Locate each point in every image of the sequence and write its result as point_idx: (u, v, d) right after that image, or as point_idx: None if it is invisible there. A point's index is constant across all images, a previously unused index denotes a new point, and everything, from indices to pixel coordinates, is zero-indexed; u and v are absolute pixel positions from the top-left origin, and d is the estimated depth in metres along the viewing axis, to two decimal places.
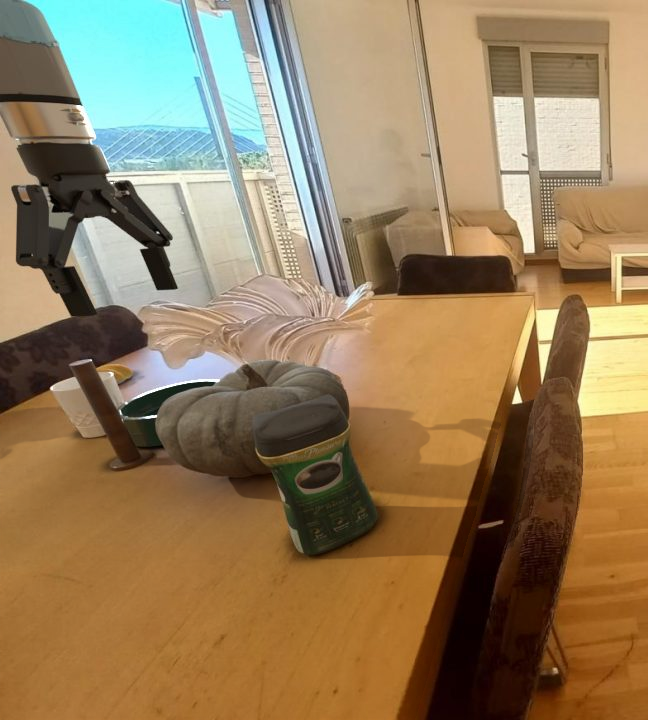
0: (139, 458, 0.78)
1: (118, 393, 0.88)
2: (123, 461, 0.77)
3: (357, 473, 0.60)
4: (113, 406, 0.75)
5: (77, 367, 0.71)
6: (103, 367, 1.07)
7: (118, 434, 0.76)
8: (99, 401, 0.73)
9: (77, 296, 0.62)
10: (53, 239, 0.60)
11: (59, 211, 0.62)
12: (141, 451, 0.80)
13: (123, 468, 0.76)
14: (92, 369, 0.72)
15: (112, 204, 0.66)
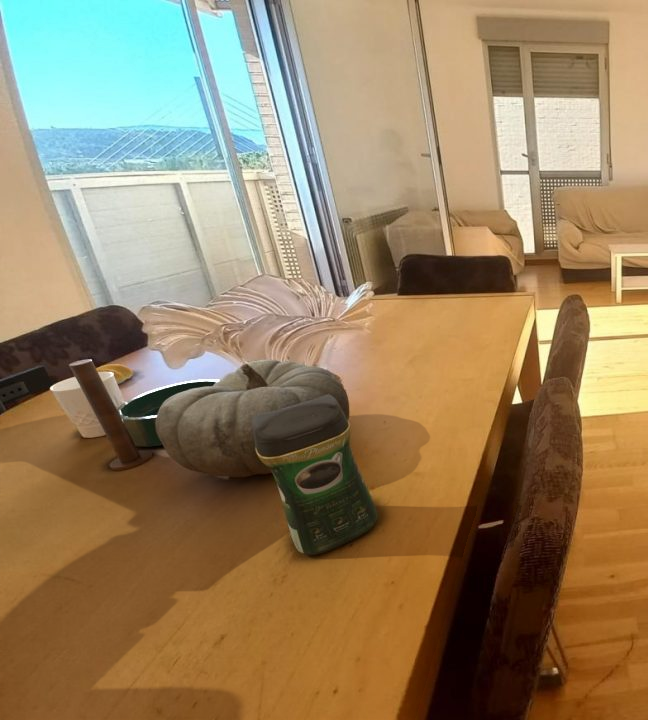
0: (139, 458, 0.78)
1: (118, 393, 0.88)
2: (123, 461, 0.77)
3: (357, 473, 0.60)
4: (113, 406, 0.75)
5: (77, 367, 0.71)
6: (103, 367, 1.07)
7: (118, 434, 0.76)
8: (99, 401, 0.73)
9: None
10: None
11: None
12: (141, 451, 0.80)
13: (123, 468, 0.76)
14: (92, 369, 0.72)
15: None
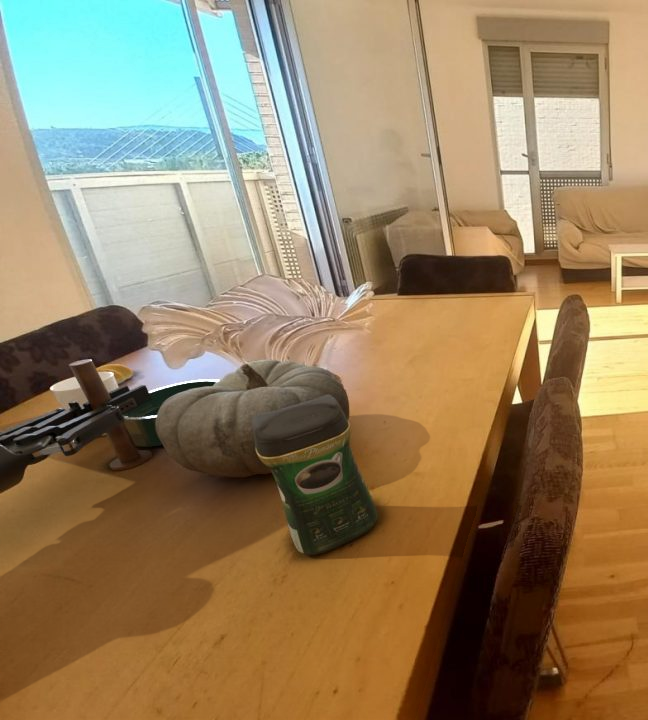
0: (139, 458, 0.78)
1: None
2: (123, 461, 0.77)
3: (357, 473, 0.60)
4: None
5: (77, 367, 0.71)
6: (103, 367, 1.07)
7: (118, 434, 0.76)
8: (99, 401, 0.73)
9: None
10: None
11: None
12: (141, 451, 0.80)
13: (123, 468, 0.76)
14: (92, 369, 0.72)
15: (49, 454, 0.66)
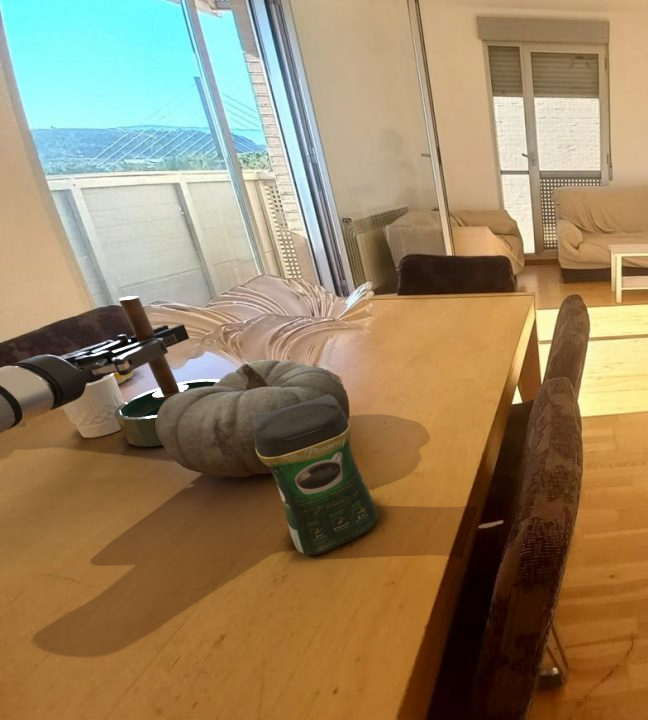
0: (178, 390, 0.86)
1: (118, 393, 0.88)
2: (164, 392, 0.85)
3: (357, 473, 0.60)
4: None
5: (126, 302, 0.78)
6: None
7: (160, 366, 0.83)
8: (144, 334, 0.81)
9: None
10: None
11: (81, 357, 0.73)
12: (179, 385, 0.88)
13: (165, 398, 0.84)
14: (139, 304, 0.80)
15: (105, 375, 0.74)
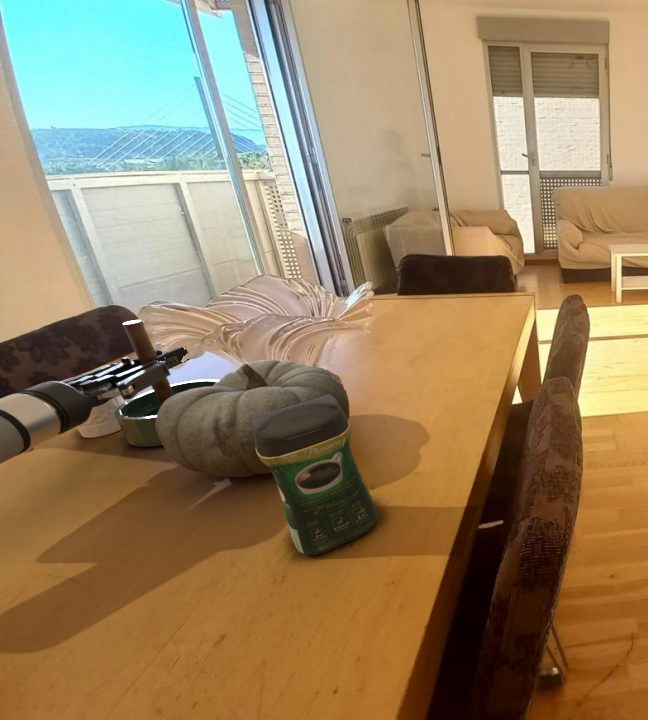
0: None
1: None
2: None
3: (357, 473, 0.60)
4: None
5: (130, 326, 0.80)
6: None
7: (163, 387, 0.85)
8: (147, 357, 0.83)
9: None
10: None
11: (86, 381, 0.75)
12: None
13: None
14: (142, 328, 0.82)
15: None
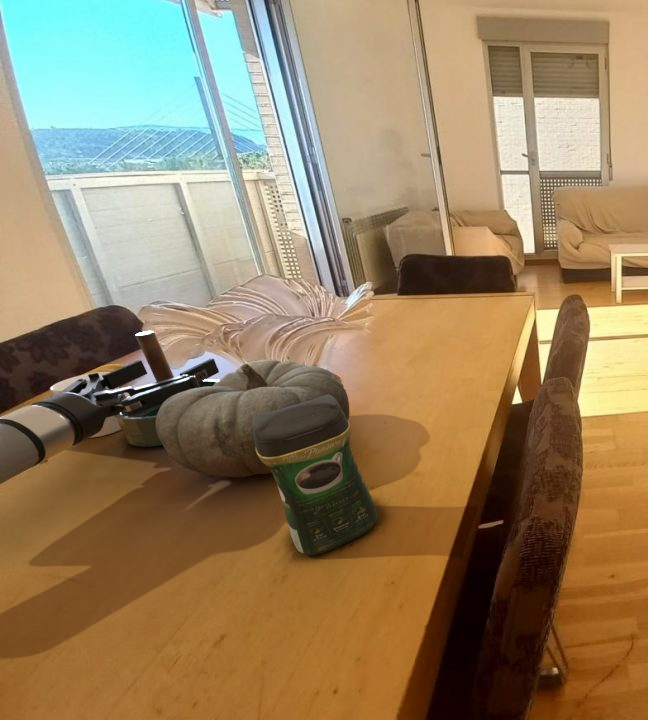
0: None
1: None
2: None
3: (357, 473, 0.60)
4: (171, 373, 0.85)
5: (143, 337, 0.81)
6: (103, 367, 1.07)
7: None
8: (160, 368, 0.83)
9: None
10: None
11: None
12: None
13: None
14: (154, 339, 0.82)
15: None
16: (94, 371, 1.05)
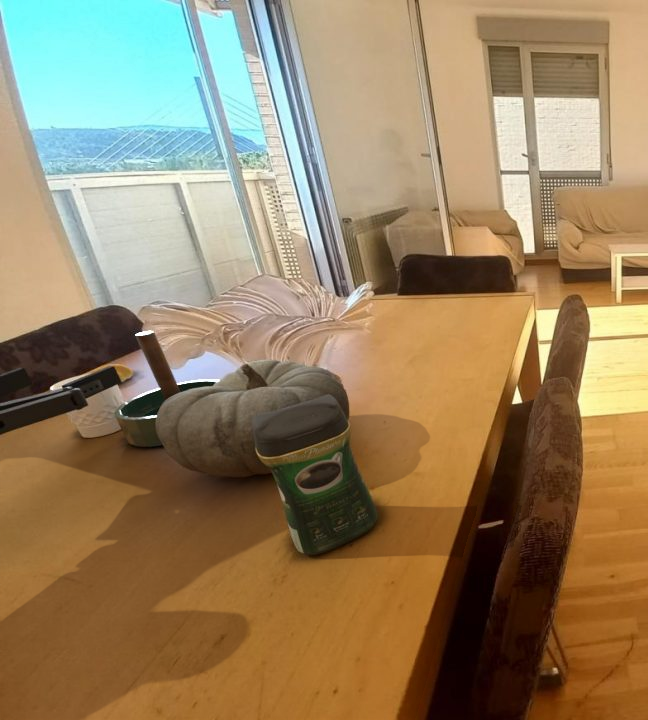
0: None
1: (118, 393, 0.88)
2: None
3: (357, 473, 0.60)
4: (171, 373, 0.85)
5: (143, 337, 0.81)
6: (103, 367, 1.07)
7: None
8: (160, 368, 0.83)
9: None
10: None
11: None
12: None
13: None
14: (154, 339, 0.82)
15: None
16: (94, 371, 1.05)
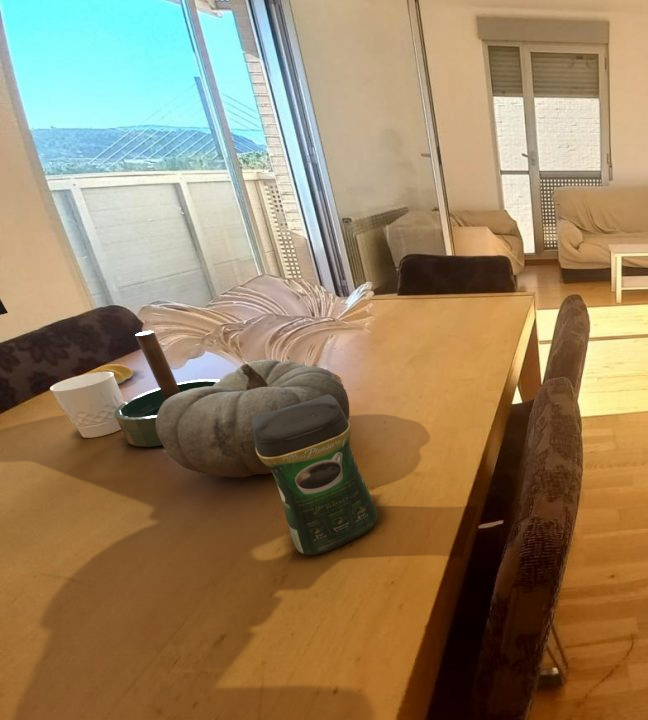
0: None
1: (118, 393, 0.88)
2: None
3: (357, 473, 0.60)
4: (171, 373, 0.85)
5: (143, 337, 0.81)
6: (103, 367, 1.07)
7: None
8: (160, 368, 0.83)
9: None
10: None
11: None
12: None
13: None
14: (154, 339, 0.82)
15: None
16: (94, 371, 1.05)
